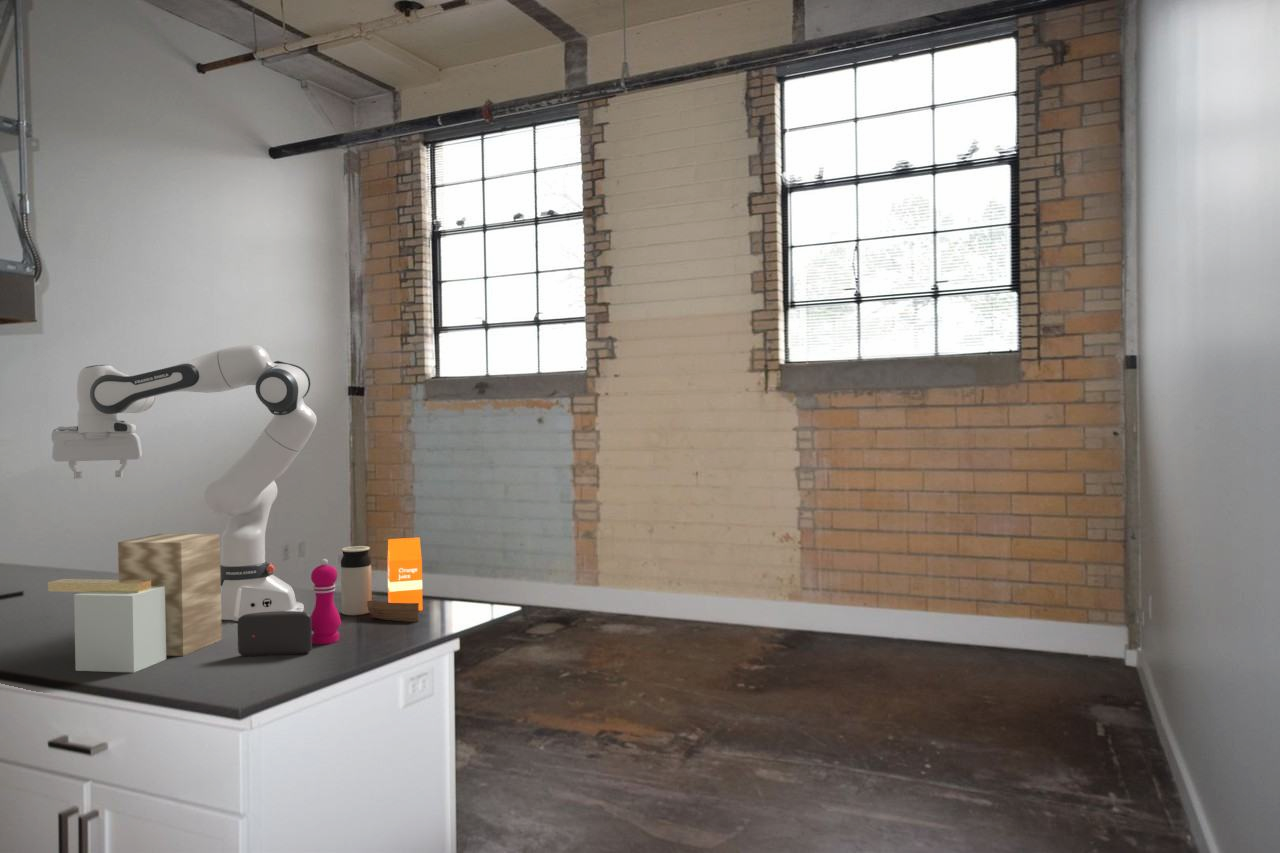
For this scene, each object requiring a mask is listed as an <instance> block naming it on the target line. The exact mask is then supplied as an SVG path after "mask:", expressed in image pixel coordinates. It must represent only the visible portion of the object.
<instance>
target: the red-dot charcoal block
mask: <svg viewBox="0 0 1280 853" xmlns="http://www.w3.org/2000/svg"><path fill="white" fill-rule="evenodd" d="M312 634H313V631H312V622H311V614H309V613H308V612H307V611H306V612H304V611H303V612H297V611H275V612H261V613H252V614H246V615H243V616H241V617H240V618H239V619H238V621H237V650H238V652H237V653H238V654H240V655H241V656H243V657H260V656H287V655H306V654H308V653H310V652H311V651H312V649H313V643H312Z"/></svg>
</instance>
